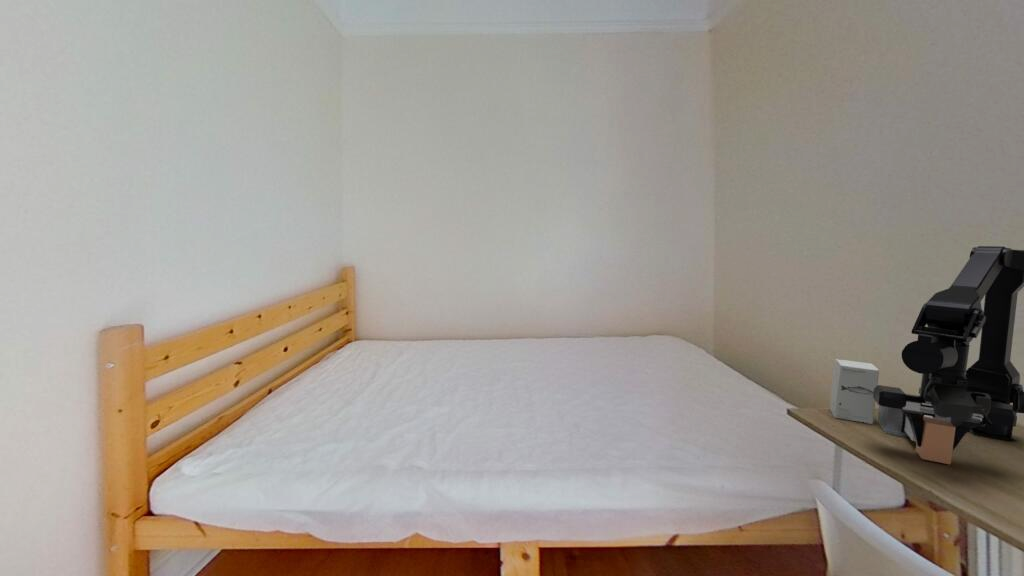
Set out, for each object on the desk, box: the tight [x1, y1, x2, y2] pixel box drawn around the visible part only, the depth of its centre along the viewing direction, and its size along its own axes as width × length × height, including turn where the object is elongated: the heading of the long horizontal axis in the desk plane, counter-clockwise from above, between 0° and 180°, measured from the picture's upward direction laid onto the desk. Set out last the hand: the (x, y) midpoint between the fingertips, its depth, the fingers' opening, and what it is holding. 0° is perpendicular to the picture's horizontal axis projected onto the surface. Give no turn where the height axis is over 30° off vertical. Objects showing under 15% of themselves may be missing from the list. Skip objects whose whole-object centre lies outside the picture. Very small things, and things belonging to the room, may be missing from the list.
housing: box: [876, 402, 951, 438], centre depth 98 cm, size 10×8×7 cm
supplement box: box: [829, 358, 880, 425], centre depth 106 cm, size 7×7×13 cm
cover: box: [904, 415, 956, 466], centre depth 89 cm, size 4×12×7 cm, turn 151°
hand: (933, 448), depth 85 cm, fingers closed on cover, 4 cm apart
